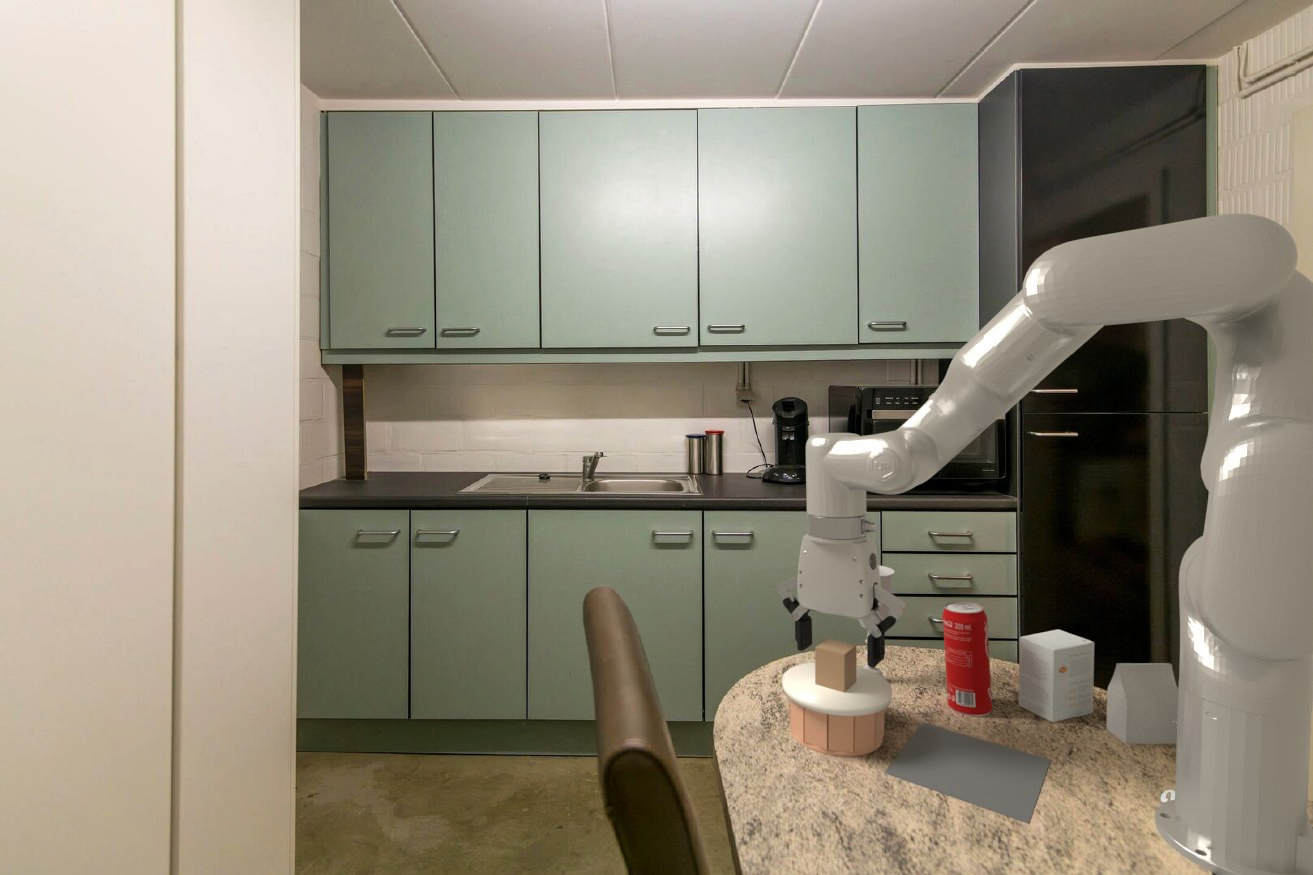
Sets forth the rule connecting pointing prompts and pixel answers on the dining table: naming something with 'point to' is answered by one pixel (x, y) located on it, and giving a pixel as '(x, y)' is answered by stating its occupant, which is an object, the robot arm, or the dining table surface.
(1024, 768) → the mat
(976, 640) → the beverage can
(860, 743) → the bowl
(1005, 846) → the dining table surface
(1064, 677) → the small box
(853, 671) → the lid
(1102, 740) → the dining table surface
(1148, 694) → the white gabled block
